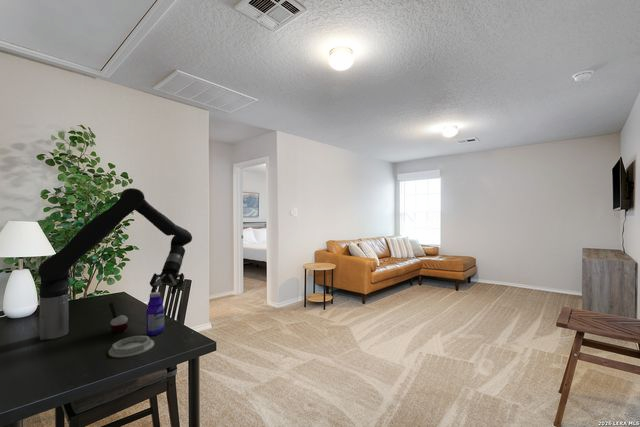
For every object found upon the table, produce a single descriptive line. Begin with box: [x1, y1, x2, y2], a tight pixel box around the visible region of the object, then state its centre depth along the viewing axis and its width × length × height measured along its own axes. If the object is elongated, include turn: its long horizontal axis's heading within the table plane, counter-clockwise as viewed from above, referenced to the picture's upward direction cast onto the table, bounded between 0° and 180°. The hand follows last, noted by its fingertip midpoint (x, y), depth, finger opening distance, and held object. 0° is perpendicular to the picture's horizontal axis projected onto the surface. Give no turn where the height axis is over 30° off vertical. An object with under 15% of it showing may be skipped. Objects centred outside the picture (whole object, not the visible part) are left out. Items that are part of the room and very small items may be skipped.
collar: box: [107, 335, 155, 358], centre depth 118 cm, size 15×15×2 cm
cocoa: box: [108, 302, 129, 334], centre depth 135 cm, size 10×6×12 cm, turn 51°
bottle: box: [145, 291, 165, 336], centre depth 132 cm, size 7×6×17 cm
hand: (162, 293), depth 139 cm, fingers open, 8 cm apart
